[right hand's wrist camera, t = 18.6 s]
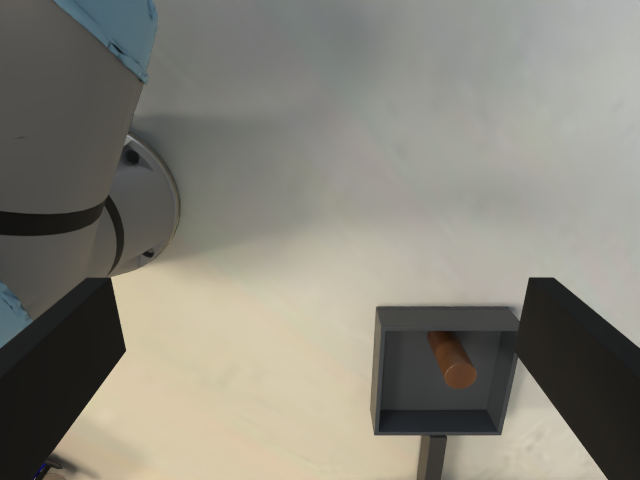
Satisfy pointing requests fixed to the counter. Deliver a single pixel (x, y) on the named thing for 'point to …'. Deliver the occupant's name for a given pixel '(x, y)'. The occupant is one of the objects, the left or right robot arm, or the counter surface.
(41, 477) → the figurine character
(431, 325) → the tray
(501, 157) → the counter surface
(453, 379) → the peg
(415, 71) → the counter surface
